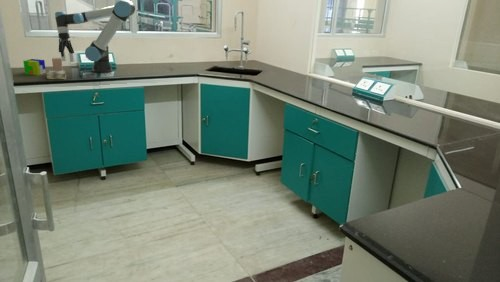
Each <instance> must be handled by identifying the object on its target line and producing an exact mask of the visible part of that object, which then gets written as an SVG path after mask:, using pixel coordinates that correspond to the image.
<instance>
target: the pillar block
mask: <svg viewBox="0 0 500 282" xmlns="http://www.w3.org/2000/svg"><path fill="white" fill-rule="evenodd" d="M51 60H52V62H51V63H52V69H53V70H52V71H64V69H63V68H64V67H63V61H62V57H52V59H51Z"/></svg>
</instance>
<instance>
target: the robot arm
mask: <svg viewBox="0 0 500 282" xmlns="http://www.w3.org/2000/svg"><path fill="white" fill-rule="evenodd" d="M135 11H136V6H135V4H134V3H133V1H131V0H118V1H116V2H115V4H114V5H110V6H107V7H102V8H98V9H92V10H88V11H83V12H82V11H81V12H75V13H68V14H67V13H66V11H55V13H54V18H55V23H56V30H57V33H58V53H60V55H61V57H60V58H61V59H62V62H66V61H67V58H66V52H65V48H66V49H67V50H68V56H69V61H70V63H73V62H75V58H74V53H75V51H74V48H73V45H72V43H71V40H70V38H71V37H70V33H69V30H70V29H69V26H68V25H80V24H84V23H88V22H89V23H90V22H93V21H98V20H102V19H106V18H107V19H109V20H108V21H107V23H106V24H105V26H104V27H103V29H102V31H101V32H100V33H99V35H98V37H97V38H96V39H95V40H93V41H91V43H90V45H88V46H87V47H86V48H85V50H84V54H85V57H86V58H87V60H88V61H90V62H93V64H92V72H93V73H110V72H113V68H112V65H111V62H110V55H109V54H110V52H109V43H110V42H111V40H112V39H113V37H114V36H115V34H116V33H117V31H118V30H119V29H120V27H121V25H122V23H125V22H127V20H128V18H129V17H131V16H132V15H134V14H135Z"/></svg>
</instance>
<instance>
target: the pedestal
mask: <svg viewBox="0 0 500 282" xmlns="http://www.w3.org/2000/svg"><path fill="white" fill-rule="evenodd" d="M45 74H46V80H47V79H64V80H67V70H63V71H53V70H47V71H46V73H45Z"/></svg>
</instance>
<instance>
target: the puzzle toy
mask: <svg viewBox="0 0 500 282" xmlns="http://www.w3.org/2000/svg"><path fill="white" fill-rule="evenodd" d="M23 67H24V73H25V75H31V76H39V75H40V76H41V75H43V73H44V74H47V71H46V63H45V60H44V59H38V58H37V59H36V58H31V59H25V60H23Z"/></svg>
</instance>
